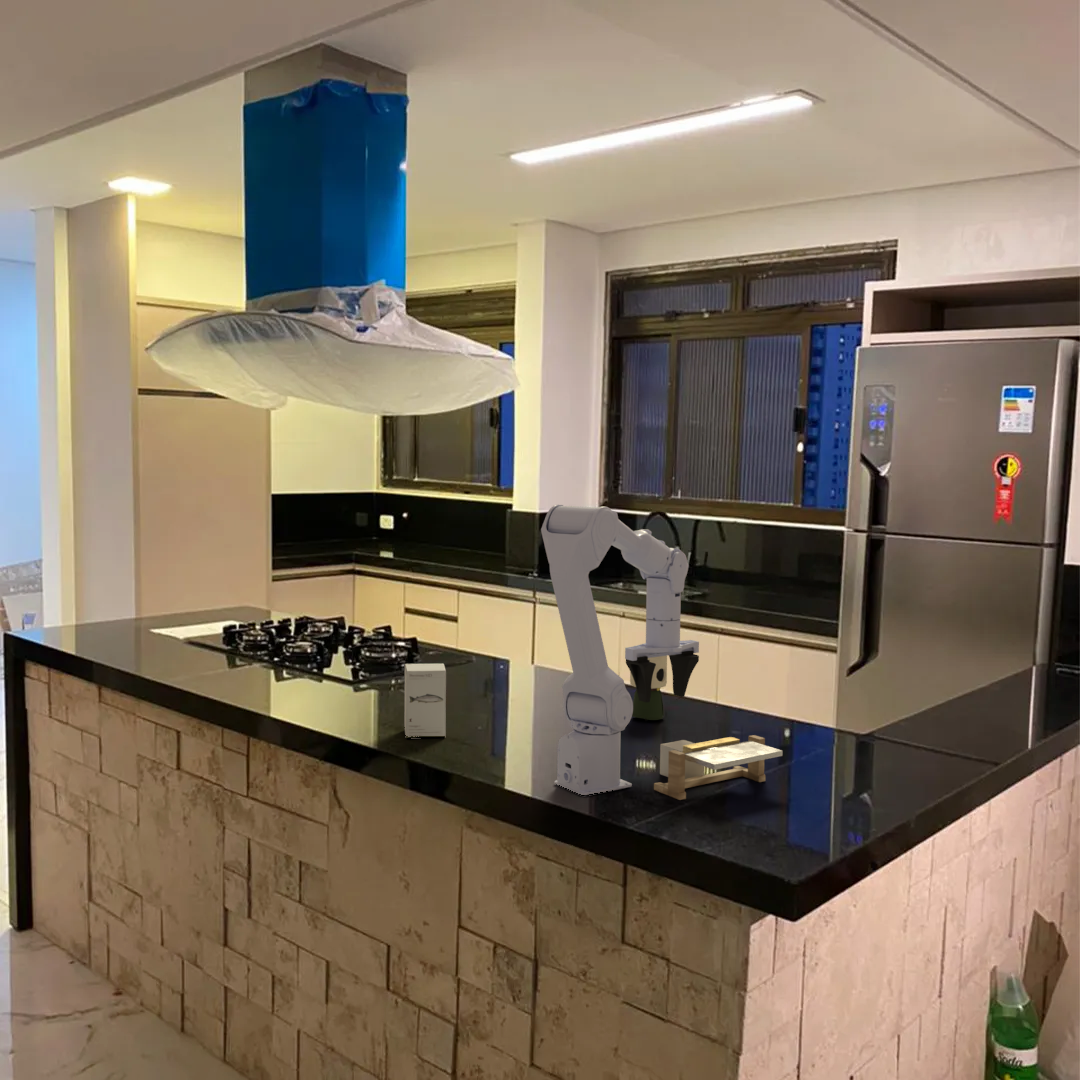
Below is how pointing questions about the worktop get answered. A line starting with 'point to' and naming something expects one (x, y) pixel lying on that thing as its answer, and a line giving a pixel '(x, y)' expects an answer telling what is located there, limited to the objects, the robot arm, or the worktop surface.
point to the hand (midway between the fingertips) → (661, 698)
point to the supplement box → (425, 700)
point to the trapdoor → (728, 752)
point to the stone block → (690, 767)
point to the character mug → (652, 692)
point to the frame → (679, 782)
